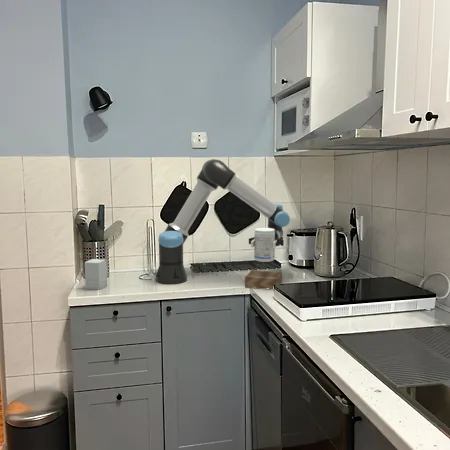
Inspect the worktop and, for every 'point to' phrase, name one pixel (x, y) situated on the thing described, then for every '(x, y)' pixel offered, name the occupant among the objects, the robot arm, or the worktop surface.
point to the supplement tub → (264, 244)
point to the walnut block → (262, 279)
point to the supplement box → (95, 274)
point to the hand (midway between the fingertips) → (262, 245)
